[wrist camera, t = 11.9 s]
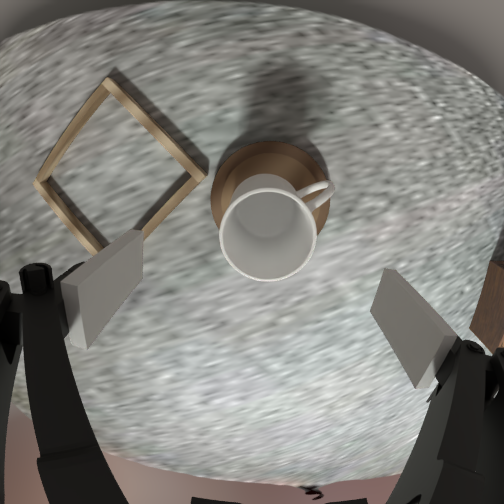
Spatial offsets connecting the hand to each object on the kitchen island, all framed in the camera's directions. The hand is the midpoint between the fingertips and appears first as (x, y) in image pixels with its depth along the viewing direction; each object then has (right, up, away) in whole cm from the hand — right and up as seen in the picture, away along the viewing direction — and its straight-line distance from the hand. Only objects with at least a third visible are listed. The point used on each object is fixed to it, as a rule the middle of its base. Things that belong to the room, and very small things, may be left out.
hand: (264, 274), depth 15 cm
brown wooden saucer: (+2, +8, +23) cm, 24 cm away
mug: (+2, +7, +20) cm, 21 cm away
